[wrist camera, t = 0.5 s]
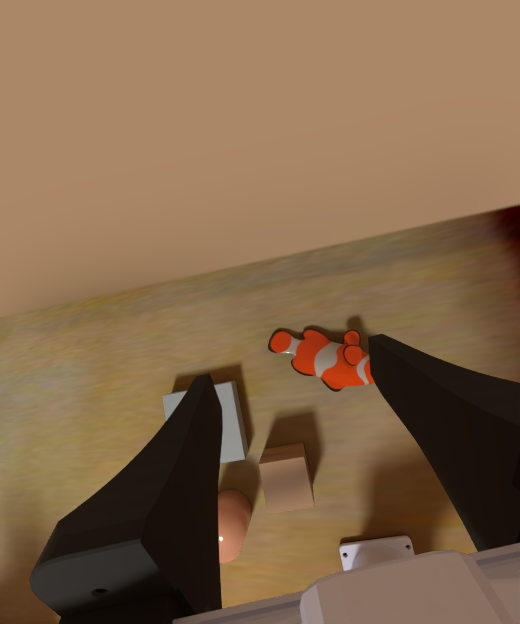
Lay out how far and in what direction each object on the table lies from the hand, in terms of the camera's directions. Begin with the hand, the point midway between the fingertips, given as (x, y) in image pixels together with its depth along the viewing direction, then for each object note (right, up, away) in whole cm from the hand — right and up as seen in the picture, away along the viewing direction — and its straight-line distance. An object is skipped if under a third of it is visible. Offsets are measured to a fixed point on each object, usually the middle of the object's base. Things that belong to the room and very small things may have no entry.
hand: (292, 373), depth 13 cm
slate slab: (-8, -12, +25) cm, 28 cm away
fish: (+7, -3, +24) cm, 25 cm away
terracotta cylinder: (-5, -22, +22) cm, 32 cm away
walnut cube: (+2, -16, +22) cm, 28 cm away
